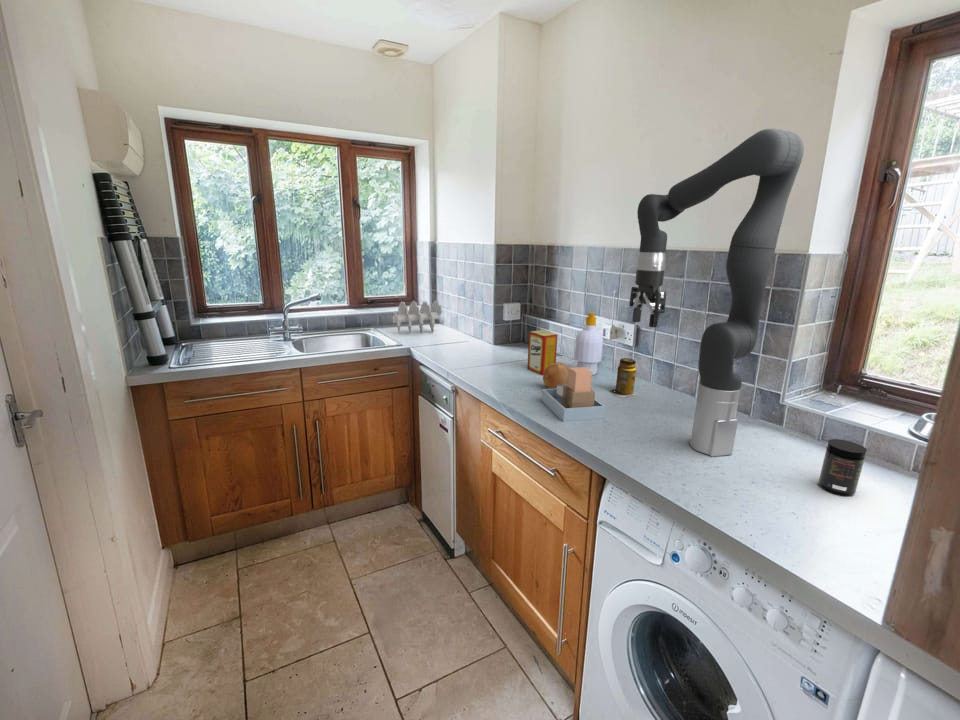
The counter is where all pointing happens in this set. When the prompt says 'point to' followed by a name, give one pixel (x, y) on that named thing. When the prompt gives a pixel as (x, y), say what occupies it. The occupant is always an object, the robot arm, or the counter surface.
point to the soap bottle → (589, 345)
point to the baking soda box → (541, 350)
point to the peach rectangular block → (580, 379)
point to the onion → (555, 375)
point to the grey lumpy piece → (417, 314)
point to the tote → (572, 413)
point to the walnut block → (577, 398)
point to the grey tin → (560, 392)
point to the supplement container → (842, 467)
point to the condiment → (625, 378)
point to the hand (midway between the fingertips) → (644, 324)
